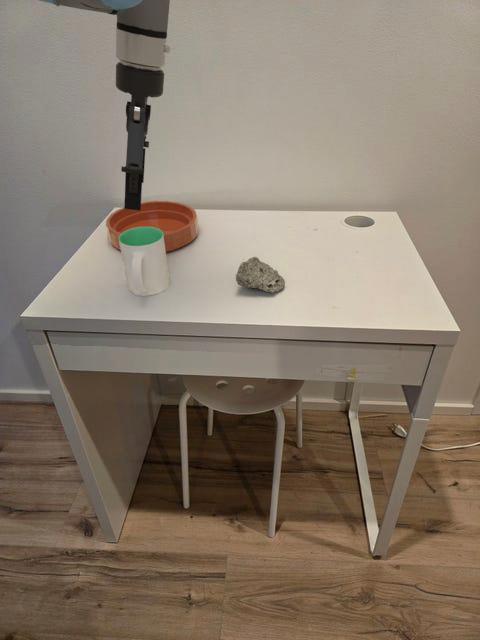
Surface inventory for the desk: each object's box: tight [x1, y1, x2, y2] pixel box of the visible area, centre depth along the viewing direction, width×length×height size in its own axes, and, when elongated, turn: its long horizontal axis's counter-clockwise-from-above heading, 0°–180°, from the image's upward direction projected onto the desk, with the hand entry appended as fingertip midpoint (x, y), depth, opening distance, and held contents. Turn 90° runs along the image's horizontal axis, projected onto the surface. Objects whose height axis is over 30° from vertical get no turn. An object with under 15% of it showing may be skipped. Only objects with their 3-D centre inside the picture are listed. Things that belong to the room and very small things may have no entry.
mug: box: [119, 227, 171, 297], centre depth 81 cm, size 12×8×10 cm, turn 4°
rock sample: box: [235, 256, 286, 294], centre depth 83 cm, size 10×8×9 cm
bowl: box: [105, 200, 199, 253], centre depth 102 cm, size 21×21×4 cm
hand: (134, 194), depth 81 cm, fingers open, 13 cm apart
